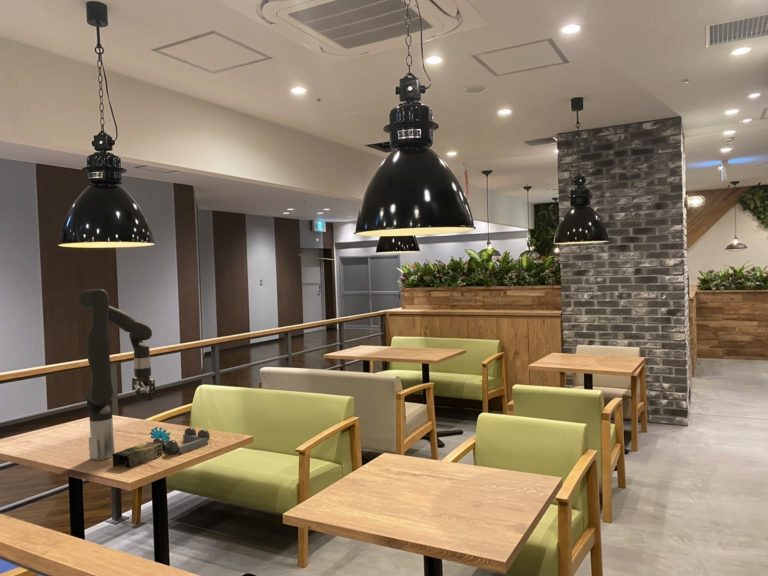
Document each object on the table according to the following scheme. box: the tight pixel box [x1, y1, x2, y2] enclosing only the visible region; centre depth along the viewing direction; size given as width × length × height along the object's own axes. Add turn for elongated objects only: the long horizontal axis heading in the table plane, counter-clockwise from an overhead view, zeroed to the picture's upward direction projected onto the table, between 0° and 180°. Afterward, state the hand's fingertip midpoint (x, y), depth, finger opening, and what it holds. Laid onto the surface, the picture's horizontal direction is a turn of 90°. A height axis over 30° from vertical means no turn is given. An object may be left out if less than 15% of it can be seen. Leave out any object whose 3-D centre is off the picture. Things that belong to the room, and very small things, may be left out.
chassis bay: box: [152, 426, 211, 455], centre depth 270 cm, size 20×16×6 cm
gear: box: [149, 426, 172, 444], centre depth 278 cm, size 11×6×10 cm
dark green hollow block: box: [112, 441, 164, 468], centre depth 254 cm, size 20×10×6 cm, turn 156°
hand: (144, 399), depth 283 cm, fingers open, 8 cm apart
